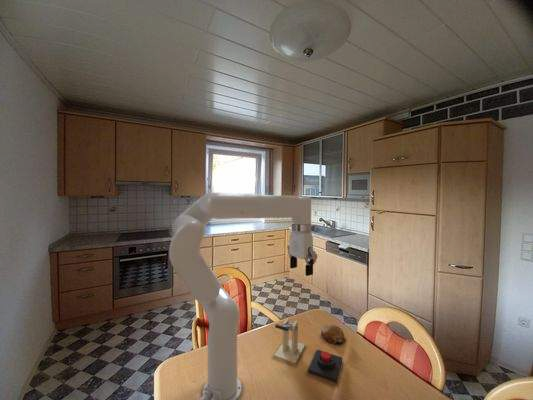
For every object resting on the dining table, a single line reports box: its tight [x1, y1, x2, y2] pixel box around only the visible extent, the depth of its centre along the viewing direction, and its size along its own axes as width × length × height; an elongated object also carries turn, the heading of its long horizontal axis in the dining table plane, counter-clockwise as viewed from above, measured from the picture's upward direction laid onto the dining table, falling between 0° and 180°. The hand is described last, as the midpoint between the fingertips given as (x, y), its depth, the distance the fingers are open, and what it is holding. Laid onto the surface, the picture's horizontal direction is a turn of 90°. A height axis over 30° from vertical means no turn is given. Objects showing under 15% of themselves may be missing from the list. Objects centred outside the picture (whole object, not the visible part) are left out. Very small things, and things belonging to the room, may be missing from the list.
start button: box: [321, 351, 331, 363], centre depth 86 cm, size 4×4×2 cm
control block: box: [307, 349, 343, 386], centre depth 86 cm, size 12×10×4 cm
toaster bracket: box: [273, 317, 306, 364], centre depth 94 cm, size 12×9×13 cm
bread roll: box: [320, 323, 345, 346], centre depth 103 cm, size 10×10×8 cm
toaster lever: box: [274, 322, 294, 332], centre depth 90 cm, size 12×5×2 cm, turn 153°
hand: (301, 271), depth 90 cm, fingers open, 9 cm apart
